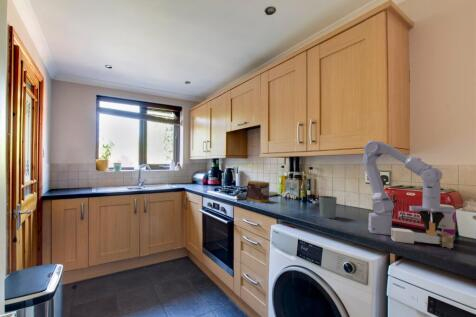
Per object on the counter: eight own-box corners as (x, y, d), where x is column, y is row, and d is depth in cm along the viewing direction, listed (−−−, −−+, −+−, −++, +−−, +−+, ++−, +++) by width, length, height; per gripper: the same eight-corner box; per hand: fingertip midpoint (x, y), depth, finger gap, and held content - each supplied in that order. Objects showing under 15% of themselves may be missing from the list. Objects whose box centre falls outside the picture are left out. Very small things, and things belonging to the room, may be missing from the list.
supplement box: (260, 202, 184) (261, 182, 184) (246, 199, 195) (247, 181, 195) (269, 201, 191) (269, 182, 191) (255, 198, 202) (255, 180, 202)
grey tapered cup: (337, 219, 136) (338, 198, 136) (319, 218, 138) (320, 197, 138) (334, 215, 146) (334, 196, 146) (317, 214, 148) (317, 195, 148)
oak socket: (442, 247, 94) (442, 235, 94) (435, 242, 100) (435, 230, 100) (452, 248, 93) (453, 236, 93) (445, 243, 99) (445, 231, 99)
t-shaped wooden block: (404, 240, 100) (405, 220, 100) (402, 237, 103) (402, 219, 103) (448, 245, 95) (448, 224, 95) (444, 242, 98) (445, 222, 98)
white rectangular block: (394, 241, 100) (394, 230, 100) (391, 238, 105) (391, 227, 105) (413, 243, 98) (414, 232, 98) (409, 240, 102) (410, 229, 102)
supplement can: (454, 239, 106) (455, 205, 106) (455, 243, 99) (455, 208, 100) (431, 234, 111) (431, 203, 111) (430, 238, 105) (430, 205, 105)
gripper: (414, 197, 97) (413, 230, 97) (458, 199, 92) (457, 234, 92) (408, 194, 103) (407, 225, 103) (448, 197, 99) (448, 229, 99)
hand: (430, 229), depth 98 cm, fingers closed on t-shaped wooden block, 2 cm apart
